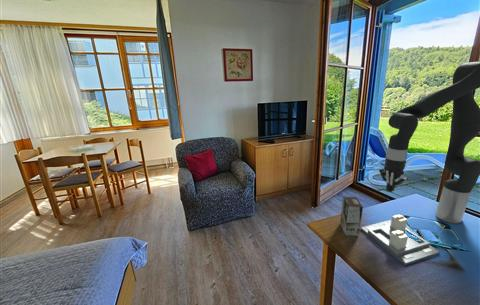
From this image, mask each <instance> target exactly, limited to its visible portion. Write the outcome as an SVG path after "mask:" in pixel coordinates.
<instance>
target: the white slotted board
mask: <svg viewBox="0 0 480 305" xmlns="http://www.w3.org/2000/svg"><path fill="white" fill-rule="evenodd" d="M391 221H392V219H388V220H385V221H381V222H377V223H374V224H370V225H369V224H368V225H365V226H362V227H361V226H360V231H362V232H363V233H364V234H366V236H368V237H369V238H370V239H371V240H373V241H374V242H375V243H377V245H379V246H381V247H382V248H383V249H384V250H386V251H387V253H389V254H390V255H392V257H394V258H395V259H397V261H398V262H399V263H401V264H402V265H404V266H408V265H410V264H413V263H417V262H420V261H422V260H425V259H429V258H432V257H435V256H438V255H440V254H441V251H440V250H438V249H436V248H435V247H433V246H432V245H430V244H431V242H429V241H428V240H426V239H424V238H422V237H421V236H420V235H418V234H417V233H415V232H413V231H412V230H410V229H409V228H407V227H406V229H405V230H406V231H407V232H409V233H410V234H411V235H413V236H415V237H417V238H418V239H420V240H421V241H422V242H419V241H416V240H413V239H411V238H409V237H408V239H407V243H406V247H405V248H404V249H401V250H397V249H395V248H394V247H393V246H391V245H390V244H389V241H390V236H391V232H393V231H396V230H394V229H393V228H391V227H390V226H391ZM404 234H405V232H404Z"/></svg>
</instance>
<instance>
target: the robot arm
mask: <svg viewBox="0 0 480 305" xmlns="http://www.w3.org/2000/svg"><path fill="white" fill-rule="evenodd" d="M479 88H480V61H472V62H471V61H470V62H464V63H462V64H460V65H458V66H457V67H456V68H455V70H454V72H453V75H452V84H451V85H449V86H446V87H443V88H442V89H439V90H436V91H434V92H433V91H432V92H431V93H429V94H428V95H426V96H424V97H422V98H421V99H420V100H418V101H417V102H415V103H414V104H411V105H409V106H406V107H404V108H402V109H399V110H397V111H396V112H394V113H393V114H392V115H391V116H390V117H389V118H388V125H389V127H390V128H392V129H395V130H398V131H397V133H396V134H391V135H390V137H389V140H388V147H387V150H386V153H385V154H386V155H385V158H384V167H382V168H380V169H378V171H379V174H380V177H381V178H382V180H383V182H386V186H385V189H386V192H389V193H391V192H394V191H395V188H396V187H395V186H400V185H402V184H403V183H405V182H407V181H409V178H408V177H406V176H405V175H404V170H405V167H406V163H407V159H408V152H409V144H410V140H411V138H412V137H413V135H414V134H415V131H416V130H417V128H418V125H419V120H418V119H424V118H426V117H428V116H430V115H432V114H433V113H434V112H436V111H437V110H439V109H441V108H442V107H444V106H446V105H447V104H449V103H451V102H452V115H451V122H450V132H449V133H450V135H449V143H448V147H447V150H446V151H447V152H446V156H445V161H444V169H445V170H446V172H448V173H450V174H453V175H456V176H458V179H452V178H451V179H447V180H445V182H444V184H443V188H442V191H441V195H440V198H439V201H438V205H437V209H436V212H435V216H436V218H438V219H440V220H441V221H444V222H446V223H449V224H456V225H457V224H461V222H462V220H463V218H464V215H465V210H466V208H467V205H468V202H469V200H470V196H471V193H472V190H473V188H474V187H475V186H476V184H477V182H478V179H479V177H480V160H478V159H474V158H471V157H468V156H464V155H465V149H466V146H467V145H468V144H469V143H470V142H471V141H473V140H474V139H475V138H476V137H477V136H478V135H479V134H480V106H479V105H478V103H477V101H476V99H475V98H474V97H475V96H474V94H473V93H474V91H475V90H478V89H479Z"/></svg>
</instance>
